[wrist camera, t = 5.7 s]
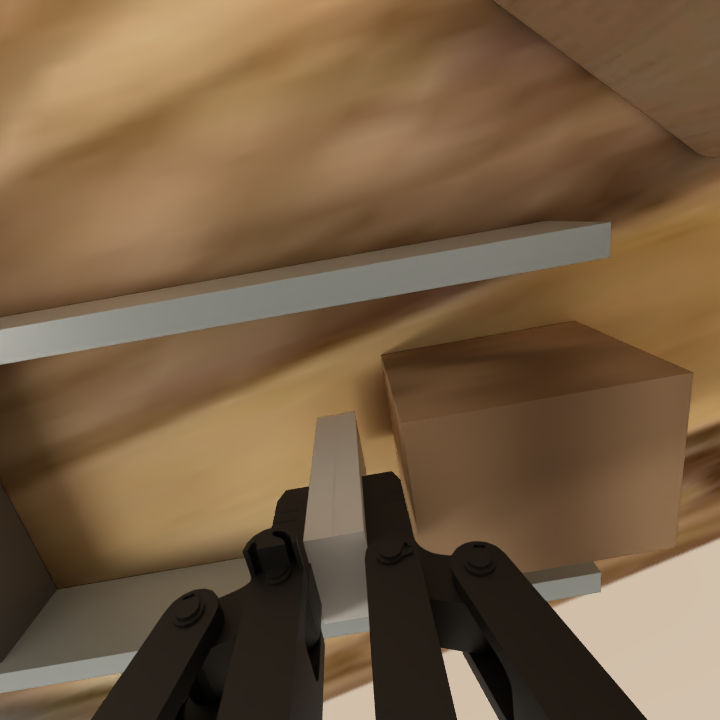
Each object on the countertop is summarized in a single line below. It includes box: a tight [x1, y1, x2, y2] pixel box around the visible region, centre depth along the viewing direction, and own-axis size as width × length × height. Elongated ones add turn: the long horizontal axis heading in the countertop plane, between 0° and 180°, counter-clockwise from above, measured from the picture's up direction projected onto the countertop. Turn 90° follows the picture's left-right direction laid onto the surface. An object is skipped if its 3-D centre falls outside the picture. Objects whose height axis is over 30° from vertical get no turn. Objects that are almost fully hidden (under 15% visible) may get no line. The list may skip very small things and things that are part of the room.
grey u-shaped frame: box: [0, 221, 611, 693], centre depth 16 cm, size 26×14×4 cm, turn 100°
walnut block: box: [381, 321, 693, 573], centre depth 15 cm, size 8×6×6 cm
